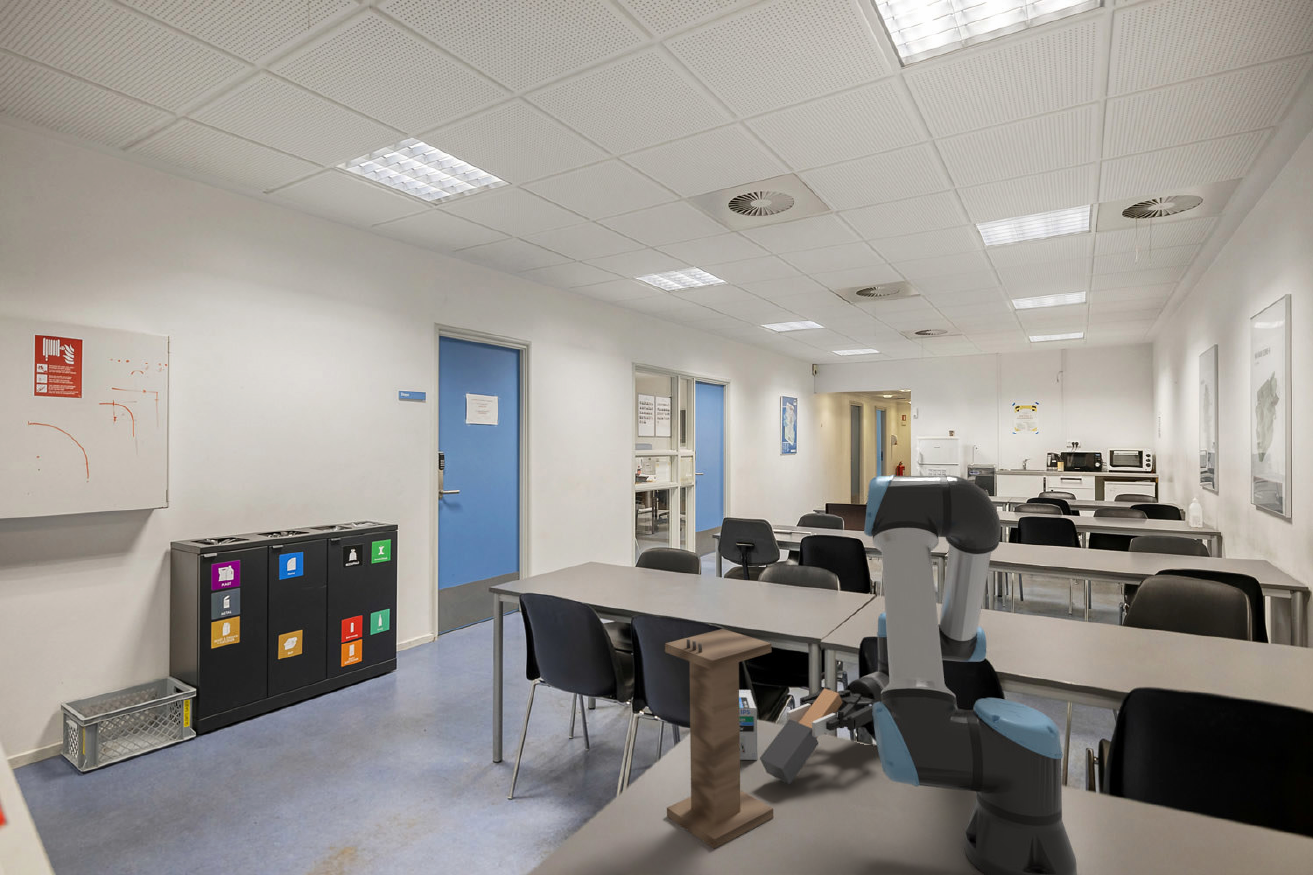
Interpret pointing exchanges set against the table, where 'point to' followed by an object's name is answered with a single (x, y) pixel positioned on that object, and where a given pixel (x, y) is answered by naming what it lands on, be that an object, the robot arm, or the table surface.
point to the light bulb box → (747, 726)
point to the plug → (798, 739)
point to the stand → (716, 738)
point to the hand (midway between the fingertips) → (800, 724)
